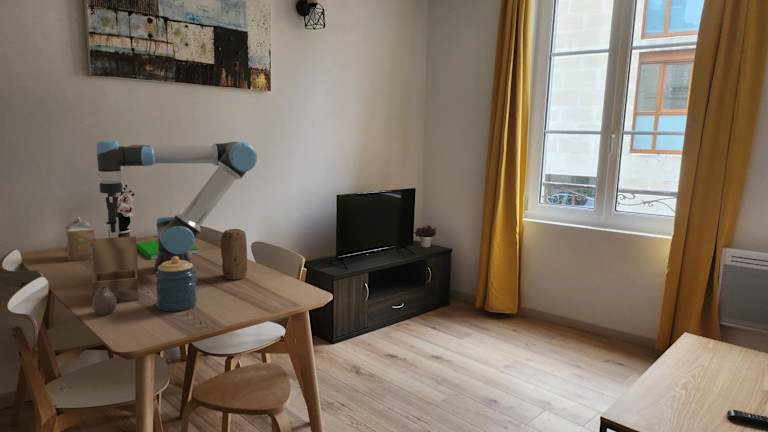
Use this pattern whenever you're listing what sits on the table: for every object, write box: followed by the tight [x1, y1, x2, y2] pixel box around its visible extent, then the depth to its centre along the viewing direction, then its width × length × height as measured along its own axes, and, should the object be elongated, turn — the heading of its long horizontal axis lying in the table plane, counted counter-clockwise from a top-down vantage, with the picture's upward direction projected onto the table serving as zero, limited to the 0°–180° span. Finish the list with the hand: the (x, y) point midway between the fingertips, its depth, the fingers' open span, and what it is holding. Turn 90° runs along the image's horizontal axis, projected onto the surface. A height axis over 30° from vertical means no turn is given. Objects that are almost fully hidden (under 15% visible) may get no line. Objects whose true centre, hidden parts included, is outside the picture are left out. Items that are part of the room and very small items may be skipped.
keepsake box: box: [91, 269, 140, 304], centre depth 181 cm, size 14×12×8 cm
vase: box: [92, 287, 117, 316], centre depth 165 cm, size 7×7×9 cm
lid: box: [92, 236, 138, 274], centre depth 186 cm, size 14×12×1 cm
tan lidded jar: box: [65, 216, 96, 263], centre depth 231 cm, size 11×11×19 cm
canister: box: [154, 256, 198, 313], centre depth 173 cm, size 13×13×18 cm
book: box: [136, 240, 199, 261], centre depth 251 cm, size 22×28×3 cm
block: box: [220, 228, 248, 281], centre depth 208 cm, size 11×8×20 cm
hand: (114, 237), depth 194 cm, fingers open, 13 cm apart
